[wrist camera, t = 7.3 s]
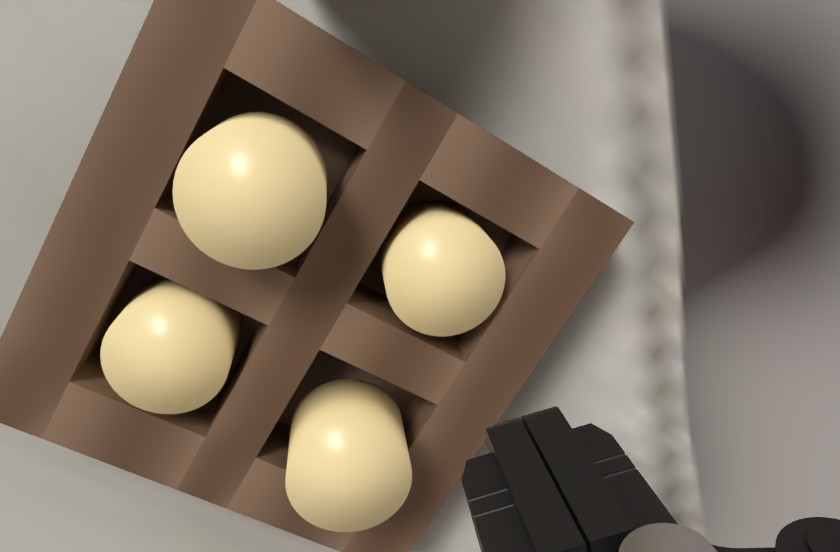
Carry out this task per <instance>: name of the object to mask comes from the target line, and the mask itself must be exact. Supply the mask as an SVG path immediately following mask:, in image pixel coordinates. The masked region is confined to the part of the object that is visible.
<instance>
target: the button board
mask: <svg viewBox="0 0 840 552" xmlns="http://www.w3.org/2000/svg"><path fill="white" fill-rule="evenodd" d="M247 112H268V113H273V114H277V115H280V116H283V117H285V118H287V119H289V120H291V121H293V122H295V123H296V124H298V125H299V126H301V127H302V128H303V129H304V130H305V131H306V132H307V133H308V134H309V135H310V136H311V137H312V138H313V140H314V141H315V143H316V144H317V145H318V147H319V149H320V151H321V153H322V156H323V158H324V161H325V166H326V172H327V196H326V211H325V217H324V220H323V223H322V226H321V228H320V230H319V232H318V234H317V236H316V237H315V239H314V240H313V242H312V243H311V244H310V245H309V246H308V247H307V249H305V250H304V251H303V252H302V253H301V254H300V255H298V256H297V257H295V258H294V259H292V260H290V261H288V262H286V263H284V264H282V265H279V266H276V267H272V268H267V269H259V270H248V269H240V268H235V267H231V266H228V265H225V264H223V263H220V262H218V261H216V260H214V259H212V258H211V257H209V256H208V255H206V254H205V253H204V252H202V251H201V250H200V249H199V248H198V247H197V246H195V245H194V244H193V242H192V241H191V240H190V239H189V238H188V236H187V235H186V233H185V232H184V230H183V229H182V227H181V225H180V223H179V220H178V218H177V215H176V212H175V208H174V203H173V180H174V176H175V172H176V169H177V166H178V164H179V161H180V160H181V158H182V156H183V155H184V153H185V152H186V150H187V149H188V148H189V147H190V145H191V144H193V143H194V142H195V141H196V140H197V139H198V138H199V137H201V136H202V135H204V134H205V133H206V132H208V131H209V130H211V129H212V128H214V127H215V126H217V125H218V124H220V123H221V122H223V121H225V120H227V119H228V118H230V117H233V116H236V115H238V114H242V113H247ZM427 201H442V202H447V203H450V204H454V205H456V206H458V207H460V208H462V209H463V210H465V211H466V212H467V213H468V214H470V215H471V216H472V217H473V219H474V220H475V221H476V222H477V223H478V225H479V226H480V227H481V228H482V229H483V230H484V232H485V233H486V234H487V235H488V236H489V238H490V239H491V240H492V241H493V242H494V243H495V245H496V246H497V248H498V249H499V251H500V254H501V256H502V258H503V262H504V266H505V286H504V290H503V294H502V296H501V299H500V301H499V303H498V305H497V306H496V308H495V309H494V311H493V312H492V313H491V314H490V315H489V317H488V318H487V319H486V320H484V321H483V322H482V323H481V324H479V325H478V326H476V327H475V328H473V329H471V330H469V331H467V332H464V333H461V334H458V335H453V336H445V337H442V336H431V335H426V334H423V333H420V332H418V331H415V330H414V329H412V328H410V327H409V326H407V325H406V324H405V323H403V322H402V321H401V320H400V319H399V318H398V316H397V315H396V314H395V312H394V311H393V309H392V307H391V305H390V303H389V300H388V298H387V294H386V289H385V285H384V280H383V276H382V272H381V267H380V263H379V248H380V246H381V244H382V243H383V241H384V239H385V238H386V236H387V234H388V232H389V231H390V229H391V227H392V226H393V224H394V222H395V221H396V219H397V217H398V215H399V214H400V212H402V211H403V210H405V209H406V208H408V207H410V206H412V205H415V204H418V203H422V202H427ZM633 223H634V222H633V221H631V220H630V219H628V218H627V217H625V216H623V215H622V214H620V213H618V212H617V211H615V210H614V209H612V208H610V207H609V206H607V205H605V204H604V203H602V202H601V201H599V200H597V199H596V198H594V197H593V196H591V195H589V194H588V193H586V192H584V191H583V190H581V189H580V188H578V187H576V186H575V185H573V184H572V183H570V182H568V181H567V180H565V179H563V178H562V177H560V176H559V175H557V174H555V173H554V172H552V171H550V170H549V169H547V168H546V167H544V166H542V165H541V164H539V163H538V162H536V161H534V160H533V159H531V158H529V157H528V156H526V155H525V154H523V153H521V152H520V151H518V150H517V149H515V148H513V147H512V146H510V145H508V144H507V143H505V142H504V141H502V140H500V139H499V138H497V137H495V136H494V135H492V134H491V133H489V132H487V131H486V130H484V129H483V128H481V127H479V126H478V125H476V124H474V123H473V122H471V121H470V120H468V119H466V118H465V117H463V116H462V115H460V114H458V113H457V112H455V111H453V110H452V109H450V108H449V107H447V106H445V105H444V104H442V103H441V102H439V101H437V100H436V99H434V98H432V97H431V96H429V95H428V94H426V93H424V92H423V91H421V90H419V89H418V88H416V87H415V86H413V85H411V84H410V83H408V82H407V81H405V80H403V79H402V78H400V77H398V76H397V75H395V74H394V73H392V72H390V71H389V70H387V69H386V68H384V67H382V66H381V65H379V64H377V63H376V62H374V61H373V60H371V59H369V58H368V57H366V56H364V55H363V54H361V53H360V52H358V51H356V50H355V49H353V48H352V47H350V46H348V45H347V44H345V43H343V42H342V41H340V40H339V39H337V38H335V37H334V36H332V35H331V34H329V33H327V32H326V31H324V30H322V29H321V28H319V27H318V26H316V25H314V24H313V23H311V22H309V21H308V20H306V19H305V18H303V17H301V16H300V15H298V14H297V13H295V12H293V11H292V10H290V9H288V8H287V7H285V6H284V5H282V4H280V3H279V2H277V1H276V0H154V2H153V4H152V6H151V8H150V11H149V13H148V15H147V17H146V19H145V22H144V24H143V26H142V28H141V30H140V33H139V35H138V37H137V39H136V41H135V44H134V46H133V48H132V50H131V52H130V55H129V57H128V59H127V61H126V63H125V66H124V68H123V70H122V72H121V74H120V77H119V79H118V81H117V83H116V85H115V88H114V90H113V92H112V94H111V96H110V99H109V101H108V103H107V105H106V108H105V110H104V112H103V114H102V116H101V119H100V121H99V123H98V125H97V127H96V130H95V132H94V134H93V136H92V138H91V141H90V143H89V145H88V147H87V149H86V152H85V154H84V156H83V158H82V160H81V163H80V165H79V167H78V169H77V171H76V174H75V176H74V178H73V180H72V182H71V185H70V187H69V189H68V191H67V193H66V196H65V198H64V200H63V202H62V204H61V207H60V209H59V211H58V213H57V215H56V218H55V220H54V222H53V224H52V226H51V229H50V231H49V233H48V235H47V237H46V240H45V242H44V244H43V246H42V248H41V251H40V253H39V255H38V257H37V259H36V262H35V264H34V266H33V268H32V270H31V273H30V275H29V277H28V279H27V281H26V284H25V286H24V288H23V290H22V292H21V295H20V297H19V299H18V301H17V303H16V306H15V308H14V310H13V312H12V314H11V317H10V319H9V321H8V323H7V325H6V328H5V330H4V332H3V334H2V336H1V339H0V423H2V424H5V425H8V426H10V427H13V428H15V429H18V430H21V431H23V432H26V433H29V434H31V435H34V436H37V437H39V438H42V439H45V440H47V441H50V442H52V443H55V444H58V445H60V446H63V447H66V448H68V449H71V450H74V451H76V452H79V453H82V454H84V455H87V456H89V457H92V458H95V459H97V460H100V461H103V462H105V463H108V464H111V465H113V466H116V467H119V468H121V469H124V470H126V471H129V472H132V473H134V474H137V475H140V476H142V477H145V478H148V479H150V480H153V481H156V482H158V483H161V484H163V485H166V486H169V487H171V488H174V489H177V490H179V491H182V492H185V493H187V494H190V495H193V496H195V497H198V498H200V499H203V500H206V501H208V502H211V503H214V504H216V505H219V506H222V507H224V508H227V509H230V510H232V511H235V512H237V513H240V514H243V515H245V516H248V517H251V518H253V519H256V520H259V521H261V522H264V523H267V524H269V525H272V526H274V527H277V528H280V529H282V530H285V531H288V532H290V533H293V534H296V535H298V536H301V537H304V538H306V539H309V540H311V541H314V542H317V543H319V544H322V545H325V546H327V547H330V548H333V549H335V550H338V551H341V552H410V550H411V549H412V547H413V546H414V544H415V543H416V541H417V540H418V538H419V537H420V535H421V534H422V533H423V531H424V530H425V528H426V527H427V525H428V524H429V522H430V521H431V519H432V518H433V516H434V515H435V513H436V512H437V511H438V509H439V508H440V506H441V505H442V503H443V502H444V500H445V499H446V497H447V496H448V494H449V493H450V492H451V490H452V489H453V487H454V486H455V484H456V483H457V481H458V480H459V478H460V477H461V475H462V474H463V472H464V468H465V465H466V461H467V460H469V459H472V458H474V456H475V455H476V453H477V452H478V450H479V449H480V448H481V446H482V445H483V443H484V442H485V440H486V436H485V431H484V428H485V427H488V426H491V425H495V424H497V423H498V421H499V420H500V418H501V417H502V415H503V414H504V412H505V411H506V409H507V408H508V407H509V405H510V404H511V402H512V401H513V399H514V398H515V396H516V395H517V393H518V392H519V390H520V389H521V387H522V386H523V385H524V383H525V382H526V380H527V379H528V377H529V376H530V374H531V373H532V371H533V370H534V368H535V367H536V365H537V364H538V363H539V361H540V360H541V358H542V357H543V355H544V354H545V352H546V351H547V349H548V348H549V346H550V345H551V344H552V342H553V341H554V339H555V338H556V336H557V335H558V333H559V332H560V330H561V329H562V327H563V326H564V324H565V323H566V322H567V320H568V319H569V317H570V316H571V314H572V313H573V311H574V310H575V308H576V307H577V305H578V304H579V302H580V301H581V300H582V298H583V297H584V295H585V294H586V292H587V291H588V289H589V288H590V286H591V285H592V283H593V282H594V280H595V279H596V278H597V276H598V275H599V273H600V272H601V270H602V269H603V267H604V266H605V264H606V263H607V261H608V260H609V259H610V257H611V256H612V254H613V253H614V251H615V250H616V248H617V247H618V245H619V244H620V242H621V241H622V239H623V238H624V237H625V235H626V234H627V232H628V231H629V229H630V228H631V226H632V225H633ZM160 275H161V276H164V277H166V278H168V279H170V280H172V281H174V282H176V283H178V284H181V285H183V286H185V287H187V288H189V289H191V290H193V291H196V292H198V293H200V294H202V295H204V296H206V297H208V298H210V299H213V300H215V301H217V302H219V303H221V304H223V305H225V306H228V307H230V308H232V309H234V310H236V311H238V312H240V315H241V321H242V328H241V334H240V338H239V341H238V344H237V348H236V351H235V354H234V357H233V360H232V363H231V366H230V370H229V373H228V376H227V379H226V381H225V383H224V385H223V387H222V388H221V390H220V391H219V392H218V394H217V395H216V396H215V397H214V398H213V399H211V400H210V401H209V402H208V403H206V404H205V405H203V406H201V407H199V408H197V409H194V410H192V411H189V412H184V413H179V414H158V413H153V412H148V411H145V410H143V409H140V408H138V407H136V406H133V405H132V404H130V403H128V402H127V401H125V400H124V399H123V398H122V397H120V396H119V395H118V394H117V393H116V392H115V391H114V390H113V388H112V387H111V386H110V384H109V383H108V381H107V379H106V377H105V375H104V372H103V370H102V366H101V359H100V351H101V345H102V340H103V338H104V336H105V333H106V332H107V330H108V328H109V327H110V325H111V324H112V323H113V322H114V320H115V319H116V318H117V317H118V315H119V314H120V313H121V312H122V310H123V309H124V308H125V307H126V305H127V304H128V303H129V302H130V300H131V299H132V298H133V297H134V295H135V294H136V293H137V292H138V290H139V289H140V288H141V287H142V286H143V285H144V284H145V283H147V282H148V281H150V280H151V279H153V278H155V277H157V276H160ZM339 379H359V380H364V381H368V382H370V383H373V384H375V385H377V386H379V387H381V388H382V389H384V390H385V391H386V392H387V393H388V394H389V395H390V396H391V397H392V398H393V399H394V400H395V402H396V404H397V405H398V407H399V410H400V412H401V417H402V421H403V427H404V432H405V437H406V442H407V447H408V453H409V458H410V463H411V468H412V484H411V488H410V491H409V494H408V496H407V498H406V500H405V502H404V503H403V504H402V506H401V507H400V508H399V510H398V511H397V512H396V513H395V514H394V515H392V516H391V517H390V518H389V519H387V520H386V521H384V522H382V523H381V524H378V525H376V526H374V527H372V528H369V529H366V530H361V531H356V532H334V531H329V530H325V529H322V528H319V527H317V526H315V525H312V524H311V523H309V522H308V521H306V520H305V519H304V518H302V517H301V516H300V515H299V514H298V513H297V512H296V511H295V509H294V508H293V506H292V505H291V503H290V501H289V499H288V496H287V492H286V486H285V477H286V468H287V458H288V449H289V439H290V430H291V422H292V418H293V415H294V412H295V410H296V408H297V406H298V405H299V403H300V402H301V400H302V399H303V398H304V397H305V396H306V395H307V394H308V393H309V392H311V391H312V390H314V389H315V388H317V387H318V386H320V385H322V384H325V383H327V382H330V381H334V380H339Z"/></svg>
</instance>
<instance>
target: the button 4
mask: <svg viewBox="0 0 840 552" xmlns="http://www.w3.org/2000/svg"><path fill="white" fill-rule="evenodd" d="M379 263H380V267H381V272H382V276H383V280H384V285H385V289H386V294H387V298H388V300H389V303H390V305H391V307H392V309H393V311H394V312H395V314H396V315H397V316H398V318H399V319H400V320H401V321H402V322H403V323H405V324H406V325H407V326H409V327H410V328H412V329H414V330H415V331H418V332H420V333H423V334H426V335H431V336H442V337H445V336H453V335H458V334H461V333H464V332H467V331H469V330H471V329H473V328H475V327H476V326H478V325H479V324H481V323H482V322H483V321H484V320H486V319H487V318H488V317H489V315H490V314H491V313H492V312H493V311H494V309H495V308H496V306H497V305H498V303H499V301H500V299H501V296H502V294H503V290H504V286H505V266H504V262H503V258H502V256H501V254H500V251H499V249H498V248H497V246H496V245H495V243H494V242H493V241H492V240H491V239H490V238H489V236H488V235H487V234H486V233H485V232H484V230H483V229H482V228H481V227H480V226H479V225H478V223H477V222H476V221H475V220H474V219H473V217H472V216H471V215H470V214H468V213H467V212H466V211H465V210H463V209H462V208H460V207H458V206H456V205H454V204H450V203H447V202H442V201H427V202H422V203H418V204H415V205H412V206H410V207H408V208H406V209H405V210H403V211H402V212H400V214H399V215H398V217H397V219H396V221H395V222H394V224H393V226H392V227H391V229H390V231H389V232H388V234H387V236H386V238H385V239H384V241H383V243H382V244H381V246H380V248H379Z"/></svg>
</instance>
